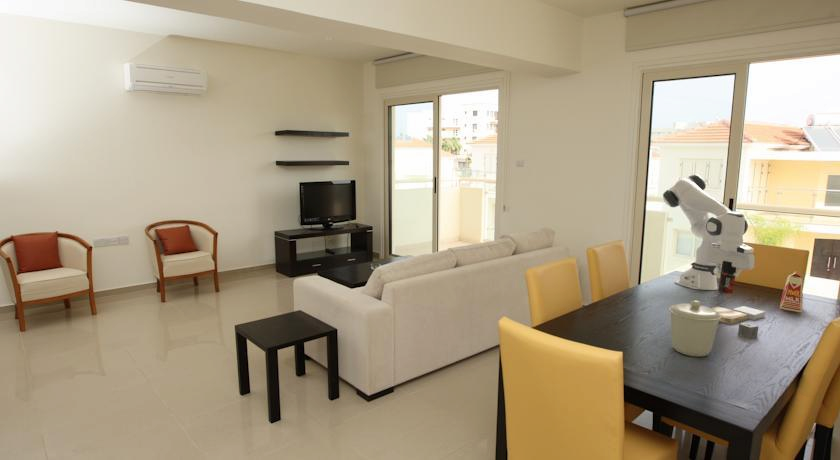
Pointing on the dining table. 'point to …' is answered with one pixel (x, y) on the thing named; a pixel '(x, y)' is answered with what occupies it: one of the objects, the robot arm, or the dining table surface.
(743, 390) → the dining table surface
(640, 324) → the dining table surface
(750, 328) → the dice cube
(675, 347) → the canister
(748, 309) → the grey stand
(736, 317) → the oak stand
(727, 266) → the deodorant
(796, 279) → the milk carton
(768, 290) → the dining table surface
